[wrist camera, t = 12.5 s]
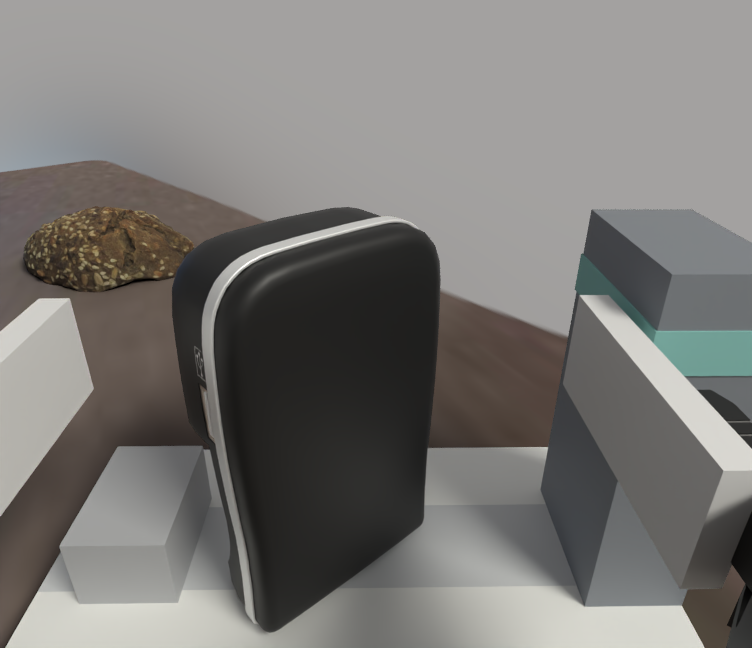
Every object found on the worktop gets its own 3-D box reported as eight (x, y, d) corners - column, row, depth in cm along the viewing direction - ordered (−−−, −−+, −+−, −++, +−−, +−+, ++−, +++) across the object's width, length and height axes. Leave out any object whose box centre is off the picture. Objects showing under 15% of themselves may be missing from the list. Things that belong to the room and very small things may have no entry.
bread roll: (13, 263, 48) (-5, 204, 45) (155, 231, 55) (146, 179, 53) (67, 312, 39) (49, 243, 37) (225, 266, 47) (218, 207, 45)
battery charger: (362, 470, 23) (360, 185, 18) (431, 525, 20) (453, 211, 15) (200, 567, 19) (134, 232, 13) (262, 651, 16) (211, 280, 11)
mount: (126, 477, 25) (52, 187, 19) (589, 473, 25) (655, 188, 19) (-8, 732, 16) (-226, 331, 10) (713, 720, 16) (905, 327, 10)
